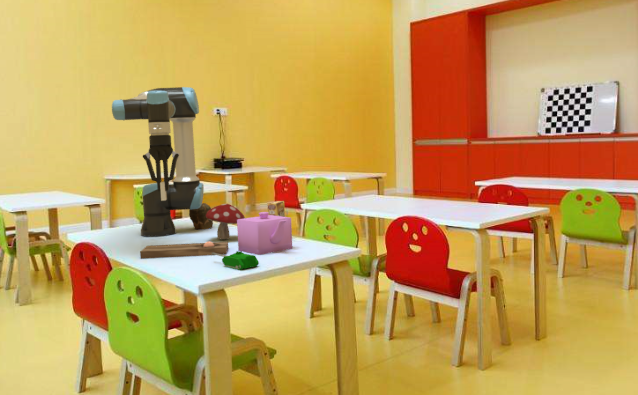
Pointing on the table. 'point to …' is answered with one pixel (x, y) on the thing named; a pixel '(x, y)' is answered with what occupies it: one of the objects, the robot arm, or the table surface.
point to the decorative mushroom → (224, 218)
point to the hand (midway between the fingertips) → (163, 200)
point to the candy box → (276, 208)
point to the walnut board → (183, 250)
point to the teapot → (264, 234)
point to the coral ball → (208, 244)
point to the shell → (201, 217)
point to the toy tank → (239, 260)
